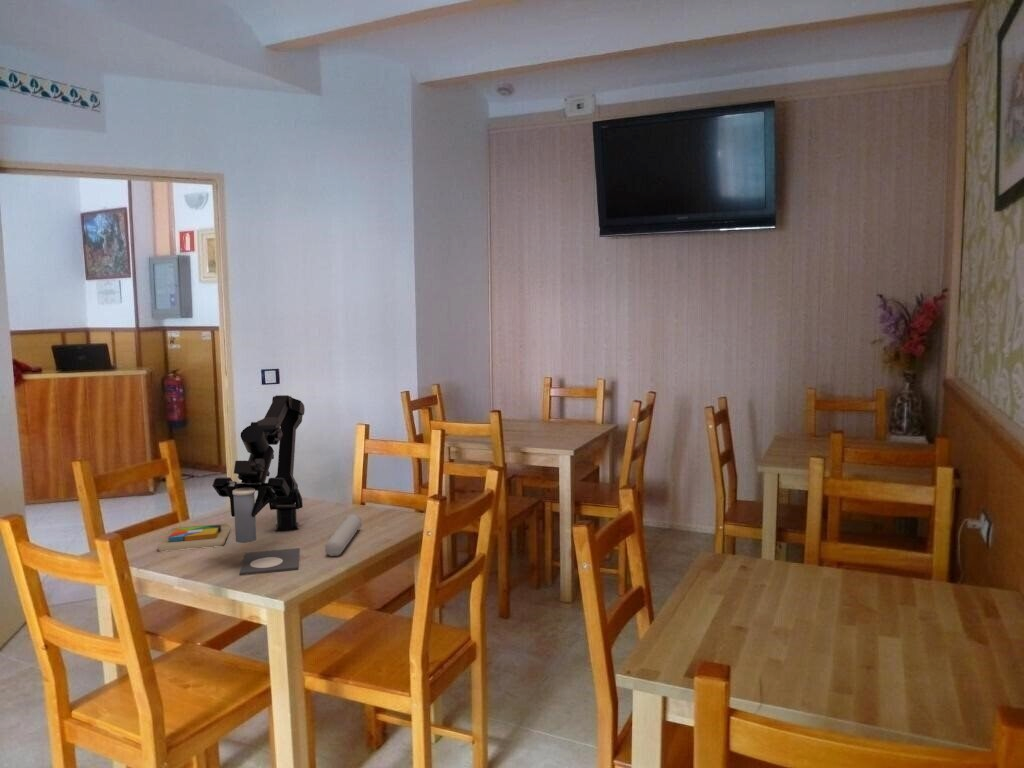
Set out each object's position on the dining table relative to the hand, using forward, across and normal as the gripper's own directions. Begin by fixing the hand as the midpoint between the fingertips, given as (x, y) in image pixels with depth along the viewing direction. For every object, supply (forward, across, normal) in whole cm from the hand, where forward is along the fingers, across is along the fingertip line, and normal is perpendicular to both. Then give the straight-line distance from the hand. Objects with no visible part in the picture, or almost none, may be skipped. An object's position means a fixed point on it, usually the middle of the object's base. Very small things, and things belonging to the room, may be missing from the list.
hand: (242, 516), depth 189 cm
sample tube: (+4, 0, +6) cm, 7 cm away
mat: (+7, +5, +12) cm, 15 cm away
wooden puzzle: (-6, -25, +26) cm, 36 cm away
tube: (-5, +19, +25) cm, 32 cm away
